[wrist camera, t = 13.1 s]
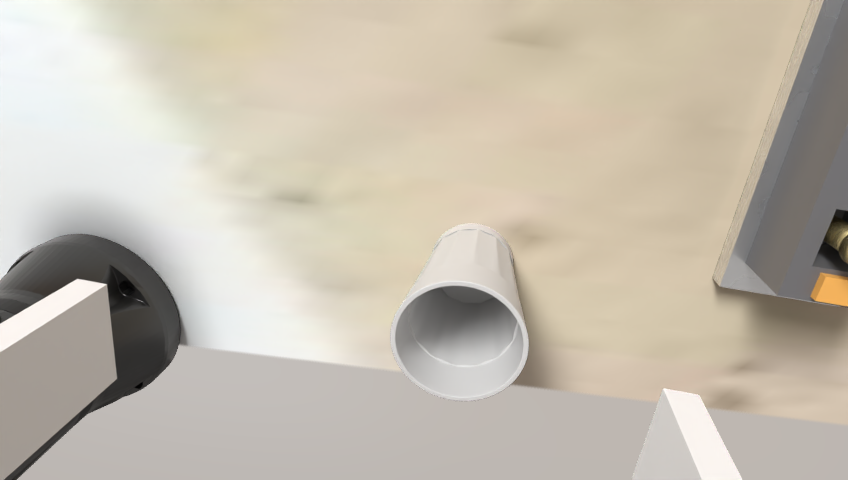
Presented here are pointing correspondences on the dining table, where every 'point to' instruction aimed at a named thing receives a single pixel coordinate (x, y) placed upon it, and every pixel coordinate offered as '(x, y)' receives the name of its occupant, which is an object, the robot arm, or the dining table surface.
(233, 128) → the dining table surface
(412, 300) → the cup
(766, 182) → the grey plate brass knobs
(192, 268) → the dining table surface
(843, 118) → the grey rectangular block
